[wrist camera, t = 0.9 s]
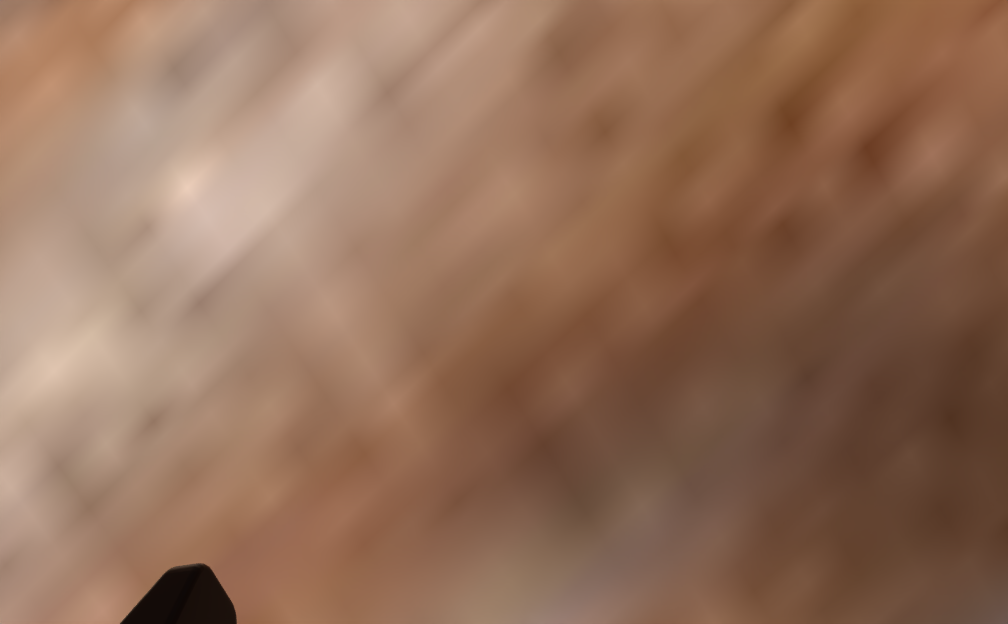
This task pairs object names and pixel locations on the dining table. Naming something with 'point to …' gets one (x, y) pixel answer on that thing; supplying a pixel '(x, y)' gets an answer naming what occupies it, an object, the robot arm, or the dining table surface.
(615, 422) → the dining table surface
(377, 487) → the dining table surface
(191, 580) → the robot arm
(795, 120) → the dining table surface
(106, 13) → the dining table surface
